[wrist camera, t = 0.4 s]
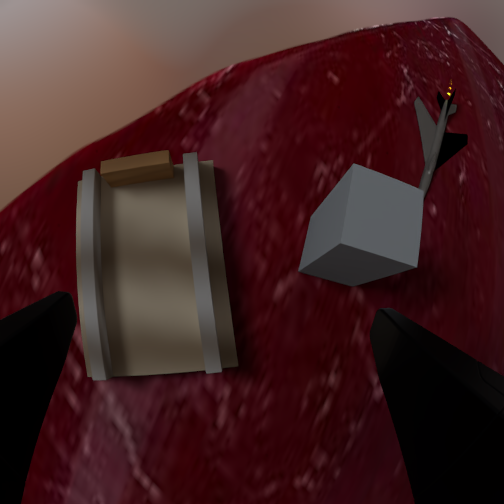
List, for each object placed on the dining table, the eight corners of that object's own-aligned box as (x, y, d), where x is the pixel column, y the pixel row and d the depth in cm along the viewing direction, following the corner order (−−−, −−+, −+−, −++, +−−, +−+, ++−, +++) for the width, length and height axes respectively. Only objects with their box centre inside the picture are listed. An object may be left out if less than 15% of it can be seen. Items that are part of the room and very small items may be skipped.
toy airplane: (380, 183, 26) (392, 172, 24) (425, 65, 30) (433, 54, 28) (444, 229, 26) (459, 223, 23) (471, 100, 30) (481, 91, 28)
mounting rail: (237, 363, 22) (240, 372, 18) (92, 374, 20) (73, 382, 17) (213, 166, 24) (211, 143, 21) (82, 186, 23) (65, 168, 20)
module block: (352, 286, 23) (417, 267, 15) (298, 271, 23) (340, 242, 15) (363, 229, 24) (423, 186, 16) (311, 212, 24) (354, 158, 16)
